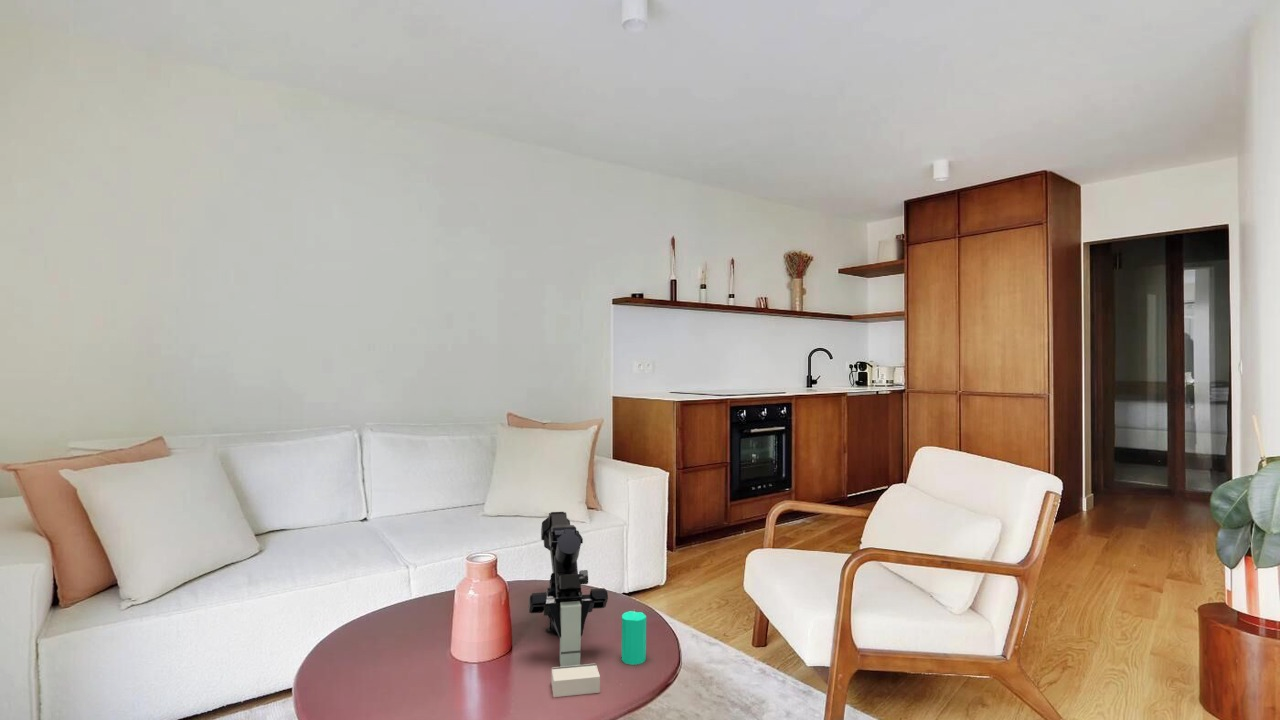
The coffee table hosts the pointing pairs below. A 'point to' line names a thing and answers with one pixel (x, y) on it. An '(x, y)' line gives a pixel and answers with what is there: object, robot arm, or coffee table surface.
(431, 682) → the coffee table surface
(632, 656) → the candle
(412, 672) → the coffee table surface
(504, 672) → the coffee table surface
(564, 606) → the pale green upright box
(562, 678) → the block
